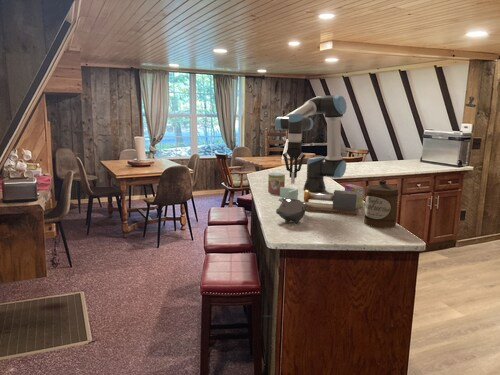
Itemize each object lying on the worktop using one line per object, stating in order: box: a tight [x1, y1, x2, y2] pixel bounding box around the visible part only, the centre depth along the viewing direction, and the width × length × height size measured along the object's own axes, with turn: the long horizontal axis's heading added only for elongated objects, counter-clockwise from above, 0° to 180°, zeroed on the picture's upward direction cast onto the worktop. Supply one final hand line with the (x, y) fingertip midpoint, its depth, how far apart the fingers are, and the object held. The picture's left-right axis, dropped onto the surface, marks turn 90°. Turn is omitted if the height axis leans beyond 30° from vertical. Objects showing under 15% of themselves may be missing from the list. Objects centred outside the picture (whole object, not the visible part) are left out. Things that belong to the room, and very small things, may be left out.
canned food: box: [267, 172, 286, 194], centre depth 263 cm, size 11×11×12 cm
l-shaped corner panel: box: [278, 187, 299, 202], centre depth 236 cm, size 12×12×8 cm
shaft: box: [303, 190, 333, 202], centre depth 215 cm, size 7×21×7 cm, turn 73°
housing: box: [332, 189, 357, 211], centre depth 212 cm, size 8×12×9 cm
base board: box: [302, 201, 359, 216], centre depth 216 cm, size 16×36×2 cm, turn 73°
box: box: [344, 184, 364, 208], centre depth 225 cm, size 10×6×12 cm, turn 21°
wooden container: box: [363, 178, 399, 229], centre depth 186 cm, size 15×15×22 cm
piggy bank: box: [275, 198, 307, 225], centre depth 187 cm, size 11×15×12 cm
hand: (292, 183), depth 218 cm, fingers closed
